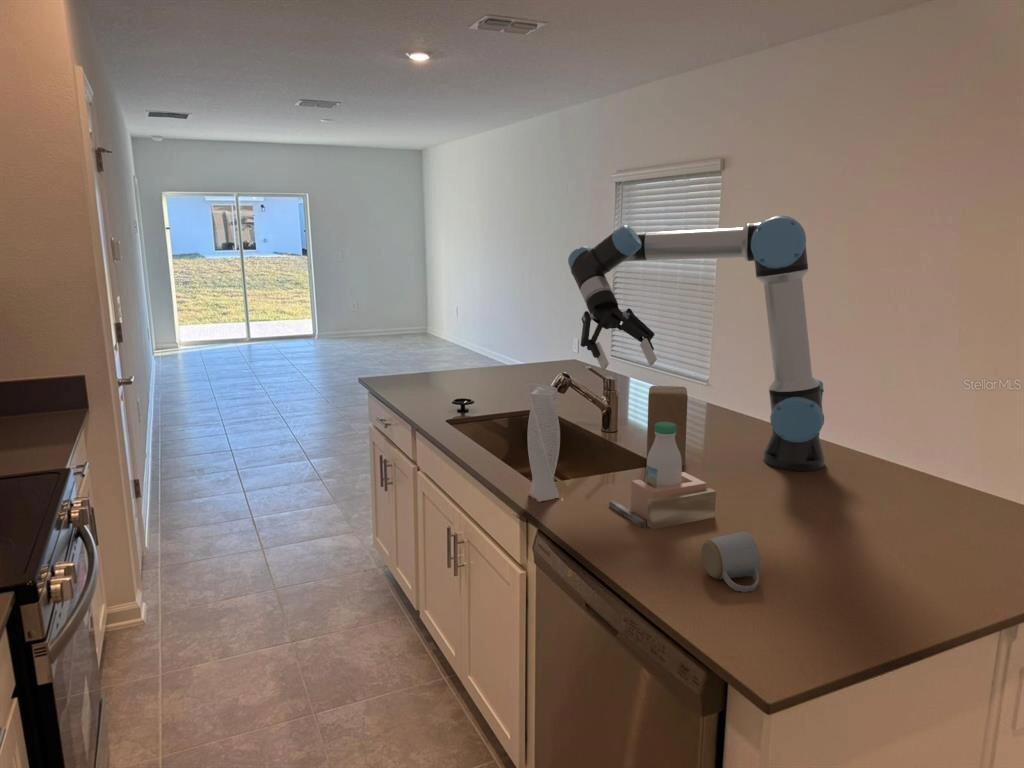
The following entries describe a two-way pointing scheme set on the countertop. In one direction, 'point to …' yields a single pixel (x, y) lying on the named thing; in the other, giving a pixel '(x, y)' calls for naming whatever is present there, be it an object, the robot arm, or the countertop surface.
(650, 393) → the block
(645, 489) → the cradle
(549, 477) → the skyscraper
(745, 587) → the ceramic mug
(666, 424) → the milk bottle
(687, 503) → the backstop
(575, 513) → the countertop surface
